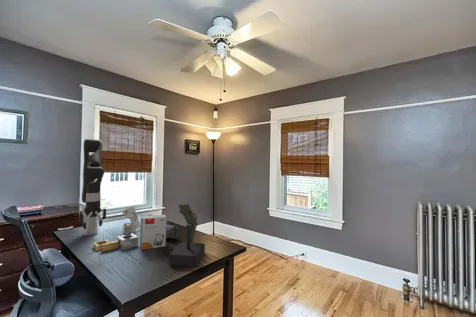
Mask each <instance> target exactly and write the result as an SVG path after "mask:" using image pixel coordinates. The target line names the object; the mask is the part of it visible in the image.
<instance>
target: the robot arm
mask: <svg viewBox="0 0 476 317" xmlns="http://www.w3.org/2000/svg"><path fill="white" fill-rule="evenodd" d="M102 151H103V141H102V140H100V139H95V138H94V139H92V138H86V139H84V141H83V169H82V171H83V173H82V192H81V200H82V203H85V207H84V208H83V211H81V210H80V211H78V222H79V223H82V229H83V230H82V231H83V232H82V234H83V236H85V235H86V237H87V236H88V237H89V236H95V235H96V234H98V231H99V230H98V228H99V227H102V226H103V220H105V219H107V209H106V208H105V207H104V208H101V199H102V198H101V183H102V181H103V179H104V178H103V177H104V175H105V169H104V168H103V167H102V166H101V158H102V154H103V152H102ZM100 213H102V216H101V214H100Z"/></svg>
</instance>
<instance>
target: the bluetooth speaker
mask: <svg viewBox="0 0 476 317" xmlns="http://www.w3.org/2000/svg"><path fill="white" fill-rule="evenodd" d="M177 235H178V228H177V226H174V225H171V224H166V240H167V239H174V238H175V237H176V236H177Z"/></svg>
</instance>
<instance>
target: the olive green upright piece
mask: <svg viewBox="0 0 476 317" xmlns="http://www.w3.org/2000/svg"><path fill="white" fill-rule="evenodd" d="M178 207H179V211H178V212H179V213H180V214H181V215H182V216H183V217H184V220H185V221H186V223H187V224H191V225H192V228H191V243H194V241H193V238H194V237H195V234H196V230H197V227H198V221H197V220H198V219H197V218H198V217H197V215H196V212H194V211H193V210H192V208H191V207H190V205H189V203H181V204H179V205H178ZM184 242H185V243H187V229H186V228H185V229H184Z"/></svg>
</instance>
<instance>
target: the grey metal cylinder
mask: <svg viewBox="0 0 476 317" xmlns="http://www.w3.org/2000/svg"><path fill="white" fill-rule="evenodd" d="M131 234H132V233H131V224H126V225H125V233H124V235H125V239H126V238H131Z"/></svg>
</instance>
